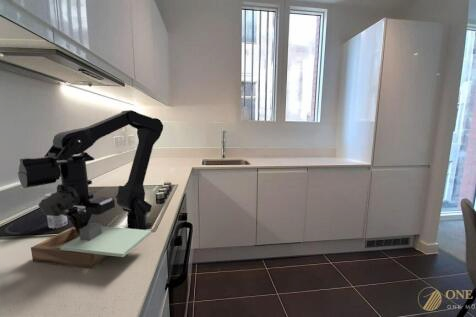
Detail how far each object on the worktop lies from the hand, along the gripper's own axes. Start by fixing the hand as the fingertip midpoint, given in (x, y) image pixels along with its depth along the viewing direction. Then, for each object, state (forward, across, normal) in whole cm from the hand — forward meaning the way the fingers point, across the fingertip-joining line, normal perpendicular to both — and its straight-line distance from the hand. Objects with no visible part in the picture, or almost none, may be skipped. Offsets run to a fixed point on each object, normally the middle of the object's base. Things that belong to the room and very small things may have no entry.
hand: (81, 233), depth 62 cm
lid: (+1, +9, 0) cm, 9 cm away
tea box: (+6, -1, 0) cm, 6 cm away
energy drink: (+6, -24, +13) cm, 28 cm away
